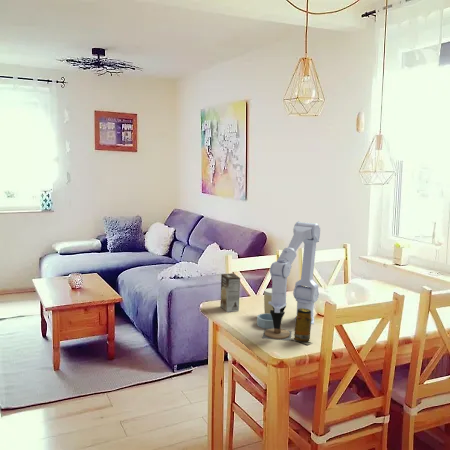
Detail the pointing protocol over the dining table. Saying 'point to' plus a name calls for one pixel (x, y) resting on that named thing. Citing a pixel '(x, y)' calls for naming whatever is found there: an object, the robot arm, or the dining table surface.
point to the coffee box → (230, 292)
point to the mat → (277, 339)
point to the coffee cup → (267, 300)
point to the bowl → (265, 321)
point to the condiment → (303, 326)
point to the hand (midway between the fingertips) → (277, 325)
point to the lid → (277, 333)
